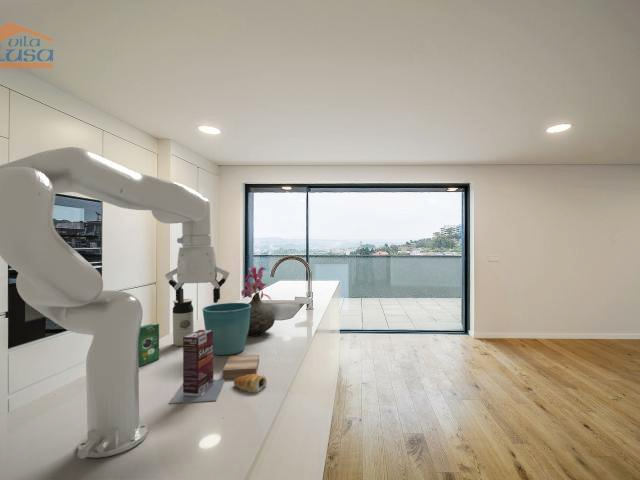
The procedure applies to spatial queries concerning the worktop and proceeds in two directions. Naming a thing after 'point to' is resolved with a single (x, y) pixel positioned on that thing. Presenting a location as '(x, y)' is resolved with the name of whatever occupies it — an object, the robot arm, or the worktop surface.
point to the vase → (258, 305)
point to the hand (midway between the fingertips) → (198, 302)
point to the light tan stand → (241, 366)
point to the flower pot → (227, 326)
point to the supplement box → (197, 362)
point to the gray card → (206, 396)
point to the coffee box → (148, 344)
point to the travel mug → (182, 321)
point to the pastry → (251, 383)
